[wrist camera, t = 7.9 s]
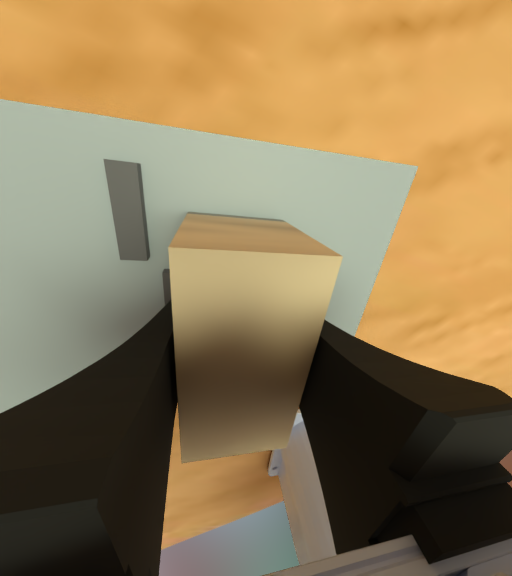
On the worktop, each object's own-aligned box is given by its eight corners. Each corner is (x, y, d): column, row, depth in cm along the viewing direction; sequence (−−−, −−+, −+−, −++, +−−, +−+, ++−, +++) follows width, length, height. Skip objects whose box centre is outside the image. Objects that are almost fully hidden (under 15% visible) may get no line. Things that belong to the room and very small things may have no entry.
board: (325, 370, 17) (335, 386, 16) (14, 393, 13) (-8, 418, 12) (393, 167, 11) (418, 166, 10) (-150, 82, 7) (-235, 61, 6)
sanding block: (260, 357, 13) (286, 447, 9) (191, 361, 12) (181, 463, 8) (282, 219, 10) (342, 256, 5) (188, 211, 9) (168, 247, 5)
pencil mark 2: (189, 331, 12) (188, 338, 11) (169, 332, 11) (167, 338, 11) (187, 269, 10) (186, 273, 10) (164, 268, 10) (162, 273, 9)
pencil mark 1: (150, 257, 9) (147, 260, 9) (124, 256, 9) (119, 260, 9) (140, 163, 8) (136, 162, 7) (109, 159, 8) (103, 159, 7)
